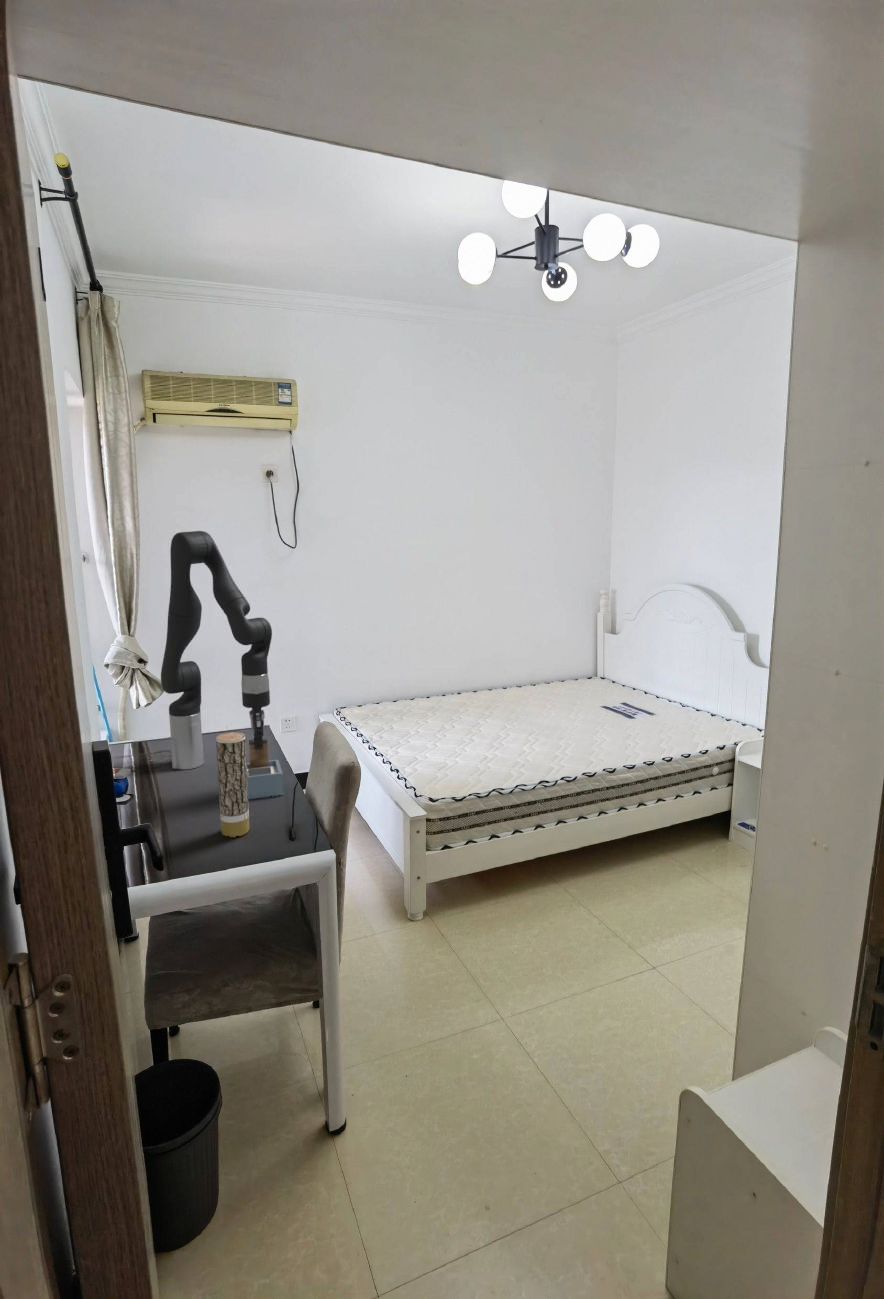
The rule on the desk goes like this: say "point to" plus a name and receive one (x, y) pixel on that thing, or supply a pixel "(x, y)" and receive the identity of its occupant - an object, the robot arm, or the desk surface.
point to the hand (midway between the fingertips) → (258, 747)
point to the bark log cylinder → (232, 784)
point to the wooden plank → (258, 755)
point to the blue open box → (265, 780)
